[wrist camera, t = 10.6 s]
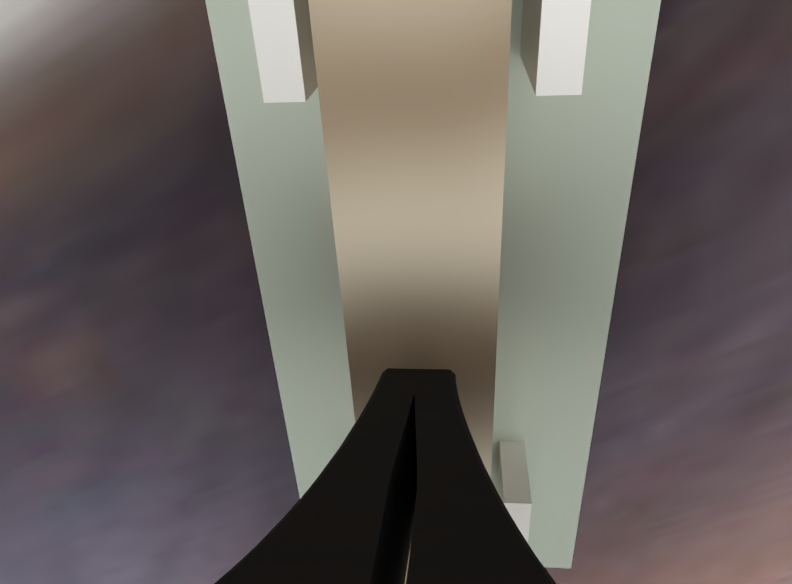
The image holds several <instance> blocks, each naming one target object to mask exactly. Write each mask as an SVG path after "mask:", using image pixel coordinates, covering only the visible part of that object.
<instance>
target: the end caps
mask: <svg viewBox="0 0 792 584" xmlns="http://www.w3.org/2000/svg"><path fill="white" fill-rule="evenodd" d="M248 5H249V11H250V18H251V24H252V30H253V37H254V43H255V50H256V56H257V62H258V69H259V75H260V81H261V88H262V94H263V100H264V103H278V102H306V101H307V100H308V98H309V97H310V96H311V95H312V93H313V92H314V91H315V90H316V88H317V87H318V85H317V76H316V67H315V58H314V49H313V40H312V31H311V22H310V13H309V4H308V0H248ZM590 9H591V0H523V13H522V32H521V51H520V57H521V59H522V62H523V65H524V67H525V70H526V72H527V75H528V77H529V80H530V83H531V85H532V88H533V90H534V93H535V96H553V95H581V94H582V85H583V75H584V66H585V56H586V47H587V37H588V28H589V19H590ZM497 492H498V494H499V496H500V498H501V499H502V501H503V503H504V505H505V507H506V508H507V510H508V512H509V514H510V515H511V517H512V519H513V520H514V522H515V524H516V525H517V527H518V529H519V530H520V532H521V533H522V535H523V537H524V538H525V540H526V541H527V543H528V538H529V527H530V517H531V507H532V501H531V493H530V484H529V476H528V467H527V459H526V450H525V442H520V441H500V445H499V463H498V482H497Z"/></svg>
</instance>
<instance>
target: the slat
mask: <svg viewBox="0 0 792 584" xmlns="http://www.w3.org/2000/svg"><path fill="white" fill-rule="evenodd" d="M308 4H309V13H310V22H311V31H312V40H313V49H314V58H315V67H316V76H317V85H318V94H319V103H320V112H321V120H322V129H323V138H324V147H325V156H326V165H327V174H328V183H329V192H330V201H331V210H332V219H333V228H334V237H335V246H336V255H337V264H338V273H339V282H340V291H341V299H342V308H343V317H344V326H345V335H346V344H347V353H348V362H349V371H350V380H351V389H352V398H353V407H354V416H355V423H356V421H357V420H358V418H359V416H360V415H361V413H362V411H363V409H364V408H365V406H366V404H367V403H368V401H369V399H370V397H371V395H372V393H373V391H374V389H375V387H376V385H377V383H378V381H379V379H380V377H381V374H382V372H384V371H385V370H386V369H387V368H398V369H450V370H451V371H452V372H453V373H454V374H456V385H457V391H458V396H459V399H460V403H461V407H462V410H463V413H464V416H465V419H466V422H467V425H468V428H469V430H470V433H471V435H472V438H473V440H474V443H475V445H476V448H477V450H478V452H479V455H480V457H481V459H482V461H483V464H484V466H485V468H486V470H487V472H488V474H489V476H490V478H491V464H492V441H493V419H494V396H495V374H496V351H497V329H498V306H499V283H500V261H501V238H502V216H503V193H504V170H505V148H506V125H507V103H508V80H509V58H510V35H511V12H512V0H308ZM410 547H411V546H410ZM409 556H410V552H409ZM408 565H409V558H408V564H407V571H406V577H405V583H404V584H406V581H407V573H408Z"/></svg>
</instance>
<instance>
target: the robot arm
mask: <svg viewBox="0 0 792 584" xmlns="http://www.w3.org/2000/svg"><path fill="white" fill-rule="evenodd" d="M410 546H411V547H410ZM409 552H410V556H409ZM408 558H409V565H408V573H407V581H406V584H556V583H555V581H554V580H553V579H552V577H551V576H550V575H549V573H548V572H547V570H546V569H545V568H544V566H543V565H542V563H541V562H540V561H539V559H538V558H537V557H536V555H535V554H534V552H533V551H532V549H531V547H530V546H529V544H528V543H527V541H526V540H525V538H524V537H523V535H522V533H521V532H520V530H519V529H518V527H517V525H516V524H515V522H514V520H513V519H512V517H511V515H510V514H509V512H508V510H507V508H506V507H505V505H504V503H503V501H502V499H501V498H500V496H499V494H498V492H497V490H496V488H495V486H494V484H493V482H492V480H491V478H490V476H489V474H488V472H487V470H486V468H485V466H484V464H483V461H482V459H481V457H480V455H479V452H478V450H477V448H476V445H475V443H474V440H473V438H472V435H471V433H470V430H469V428H468V425H467V422H466V419H465V416H464V413H463V410H462V407H461V403H460V399H459V396H458V391H457V385H456V374H454V373H453V372H452V371H451V370H450V369H398V368H387V369H386V370H385V371H384V372H382V374H381V377H380V379H379V381H378V383H377V385H376V387H375V389H374V391H373V393H372V395H371V397H370V399H369V401H368V403H367V404H366V406H365V408H364V409H363V411H362V413H361V415H360V416H359V418H358V420H357V421H356V423H355V424H354V426H353V427H352V429H351V431H350V432H349V434H348V435H347V437H346V438H345V440H344V442H343V443H342V444H341V446H340V447H339V449H338V450H337V452H336V453H335V454H334V456H333V457H332V458H331V460H330V461H329V463H328V464H327V465H326V467H325V468H324V469H323V471H322V472H321V473H320V475H319V476H318V477H317V479H316V480H315V481H314V483H313V484H312V485H311V486H310V488H309V489H308V490H307V491H306V492H305V494H304V495H303V496H302V497H301V498H300V500H299V501H298V502H297V503H296V504H295V505H294V506H293V508H292V509H291V510H290V511H289V512H288V513H287V514H286V516H285V517H284V518H283V519H282V520H281V521H280V522H279V523H278V524H277V525H276V526H275V527H274V528H273V529H272V530H271V531H270V532H269V533H268V534H267V535H266V536H265V537H264V539H263V540H262V541H261V542H260V543H259V544H258V545H257V546H256V547H255V548H254V549H253V550H251V551H250V552H249V553H248V554H247V555H246V556H245V557H244V558H243V559H242V560H241V561H240V562H239V563H238V564H236V565H235V566H234V567H233V568H232V569H231V570H230V571H228V572H227V573H226V574H225V575H224V576H223V577H222V578H220V579H219V580H218V581H217V582H216V583H215V584H404V583H405V577H406V571H407V564H408Z"/></svg>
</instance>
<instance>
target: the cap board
mask: <svg viewBox="0 0 792 584" xmlns="http://www.w3.org/2000/svg"><path fill="white" fill-rule="evenodd" d="M205 1H206V7H207V12H208V17H209V22H210V28H211V33H212V38H213V44H214V49H215V54H216V59H217V65H218V70H219V75H220V80H221V86H222V91H223V96H224V101H225V107H226V112H227V117H228V123H229V128H230V133H231V138H232V144H233V149H234V154H235V159H236V165H237V170H238V175H239V180H240V186H241V191H242V196H243V202H244V207H245V212H246V217H247V223H248V228H249V233H250V238H251V244H252V249H253V254H254V259H255V265H256V270H257V275H258V281H259V286H260V291H261V296H262V302H263V307H264V312H265V317H266V323H267V328H268V333H269V338H270V344H271V349H272V354H273V360H274V365H275V370H276V375H277V381H278V386H279V391H280V396H281V402H282V407H283V412H284V417H285V423H286V428H287V433H288V439H289V444H290V449H291V454H292V460H293V465H294V470H295V475H296V481H297V486H298V491H299V496H300V498H301V497H302V496H303V495H304V494H305V492H306V491H307V490H308V489H309V488H310V486H311V485H312V484H313V483H314V481H315V480H316V479H317V477H318V476H319V475H320V473H321V472H322V471H323V469H324V468H325V467H326V465H327V464H328V463H329V461H330V460H331V458H332V457H333V456H334V454H335V453H336V452H337V450H338V449H339V447H340V446H341V444H342V443H343V442H344V440H345V438H346V437H347V435H348V434H349V432H350V431H351V429H352V427H353V426H354V424H355V416H354V407H353V398H352V389H351V380H350V371H349V362H348V353H347V344H346V335H345V326H344V317H343V308H342V299H341V291H340V282H339V273H338V264H337V255H336V246H335V237H334V228H333V219H332V210H331V201H330V192H329V183H328V174H327V165H326V156H325V147H324V138H323V129H322V120H321V112H320V103H319V94H318V87H317V88H316V90H315V91H314V92H313V93H312V95H311V96H310V97H309V98H308V100H307V101H306V102H278V103H264V100H263V94H262V88H261V81H260V75H259V69H258V62H257V56H256V50H255V43H254V37H253V30H252V24H251V18H250V11H249V5H248V0H205ZM660 4H661V0H591V9H590V19H589V28H588V37H587V47H586V56H585V66H584V75H583V85H582V94H581V95H553V96H535V93H534V90H533V88H532V85H531V83H530V80H529V77H528V75H527V72H526V70H525V67H524V65H523V62H522V59H521V57H520V51H521V32H522V13H523V0H512V12H511V35H510V58H509V80H508V103H507V125H506V148H505V170H504V193H503V216H502V238H501V261H500V283H499V306H498V329H497V351H496V374H495V396H494V419H493V441H492V464H491V480H492V482H493V484H494V486H495V488H496V490H497V482H498V463H499V445H500V441H520V442H525V450H526V459H527V467H528V476H529V484H530V493H531V501H532V507H531V517H530V527H529V538H528V544H529V546H530V547H531V549H532V551H533V552H534V554H535V555H536V557H537V558H538V559H539V561H540V562H541V563H542V565H543V566H544V567H551V568H571V564H572V558H573V552H574V545H575V539H576V533H577V527H578V520H579V514H580V508H581V501H582V495H583V489H584V482H585V476H586V470H587V464H588V457H589V451H590V445H591V438H592V432H593V426H594V420H595V413H596V407H597V401H598V394H599V388H600V382H601V375H602V369H603V363H604V357H605V350H606V344H607V338H608V331H609V325H610V319H611V312H612V306H613V300H614V294H615V287H616V281H617V275H618V268H619V262H620V256H621V250H622V243H623V237H624V231H625V224H626V218H627V212H628V205H629V199H630V193H631V187H632V180H633V174H634V168H635V161H636V155H637V149H638V142H639V136H640V130H641V124H642V117H643V111H644V105H645V98H646V92H647V86H648V79H649V73H650V67H651V61H652V54H653V48H654V42H655V35H656V29H657V23H658V17H659V10H660Z"/></svg>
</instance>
